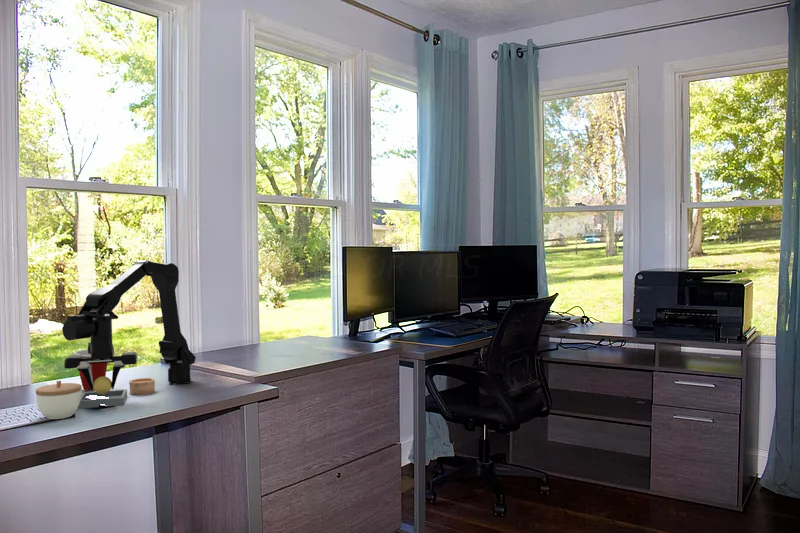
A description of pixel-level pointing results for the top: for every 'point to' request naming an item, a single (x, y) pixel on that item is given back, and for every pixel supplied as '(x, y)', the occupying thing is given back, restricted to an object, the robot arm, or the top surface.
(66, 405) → the lidded jar
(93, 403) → the tray
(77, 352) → the plastic cup
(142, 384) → the bowl
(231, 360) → the top surface
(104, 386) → the ball
